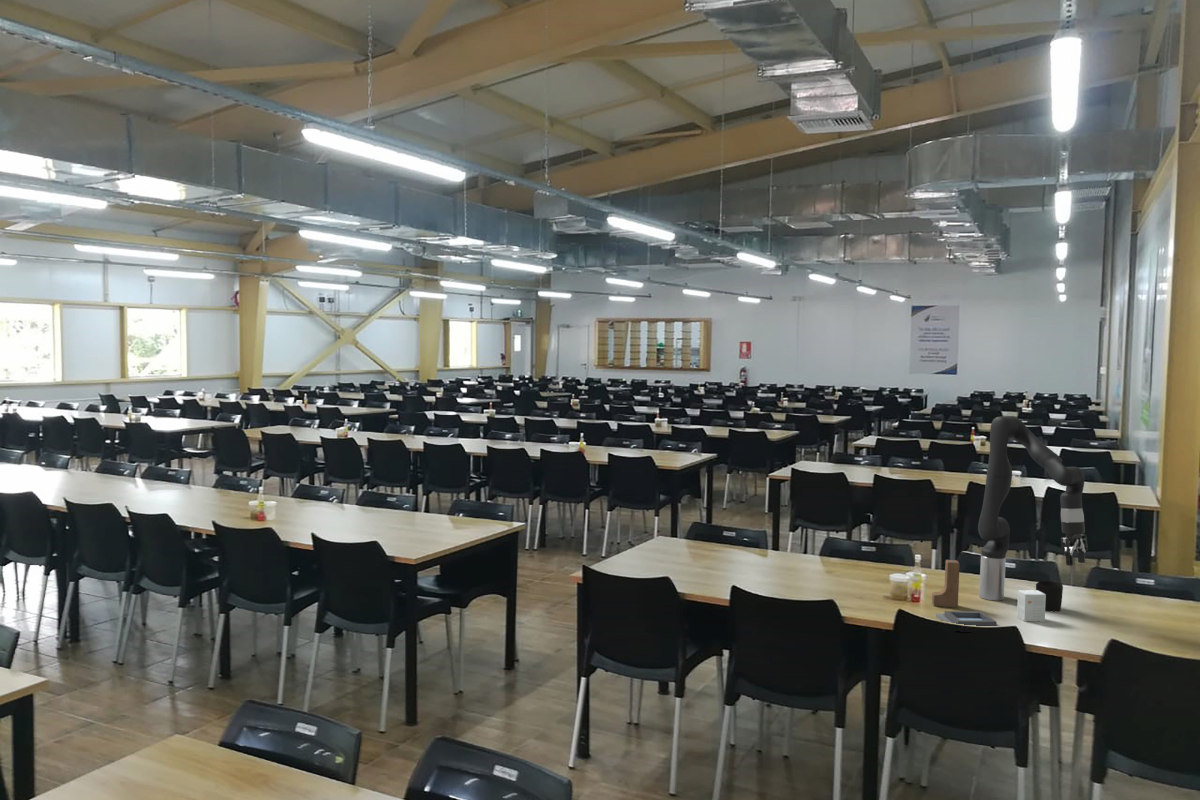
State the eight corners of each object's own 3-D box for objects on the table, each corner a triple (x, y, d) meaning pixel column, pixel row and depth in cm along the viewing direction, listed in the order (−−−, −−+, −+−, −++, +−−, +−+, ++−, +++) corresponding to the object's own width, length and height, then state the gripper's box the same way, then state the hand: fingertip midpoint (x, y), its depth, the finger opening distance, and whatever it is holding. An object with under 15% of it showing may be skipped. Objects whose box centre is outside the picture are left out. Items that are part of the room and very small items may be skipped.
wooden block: (933, 606, 334) (935, 561, 333) (931, 603, 339) (933, 558, 337) (958, 608, 332) (959, 562, 331) (955, 604, 337) (957, 560, 336)
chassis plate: (935, 616, 321) (936, 608, 321) (983, 616, 321) (983, 609, 321) (955, 631, 303) (955, 623, 303) (1005, 632, 303) (1006, 624, 303)
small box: (1036, 617, 322) (1038, 590, 322) (1045, 621, 317) (1046, 594, 316) (1016, 617, 322) (1017, 589, 321) (1024, 621, 316) (1025, 594, 316)
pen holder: (1067, 612, 329) (1068, 586, 329) (1045, 612, 328) (1046, 587, 327) (1051, 604, 339) (1052, 580, 338) (1029, 605, 337) (1030, 580, 337)
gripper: (1072, 518, 322) (1075, 561, 322) (1052, 521, 315) (1055, 565, 314) (1092, 519, 316) (1095, 562, 315) (1072, 522, 308) (1076, 567, 307)
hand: (1075, 564), depth 315 cm, fingers open, 8 cm apart
